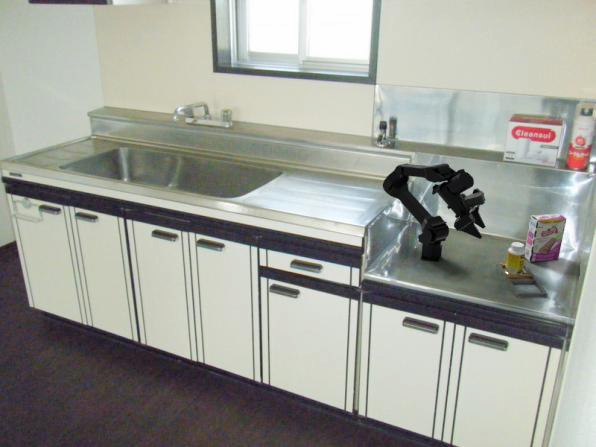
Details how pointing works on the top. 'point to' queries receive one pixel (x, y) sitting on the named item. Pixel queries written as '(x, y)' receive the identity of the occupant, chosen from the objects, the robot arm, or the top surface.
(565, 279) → the top surface
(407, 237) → the top surface
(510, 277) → the rack
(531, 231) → the candy bar box
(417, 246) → the top surface
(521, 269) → the supplement bottle
